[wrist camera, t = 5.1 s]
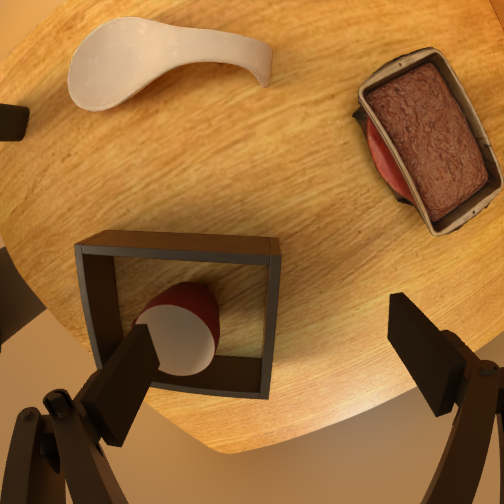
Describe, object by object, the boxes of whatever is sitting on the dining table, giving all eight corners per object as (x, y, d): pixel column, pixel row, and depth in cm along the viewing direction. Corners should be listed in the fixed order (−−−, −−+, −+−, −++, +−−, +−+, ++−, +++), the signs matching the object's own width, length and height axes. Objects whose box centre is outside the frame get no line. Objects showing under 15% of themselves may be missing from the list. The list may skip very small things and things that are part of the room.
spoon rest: (75, 118, 31) (40, 113, 24) (90, 36, 27) (60, 18, 20) (266, 117, 30) (266, 104, 23) (275, 24, 27) (277, -6, 20)
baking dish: (385, 224, 35) (433, 254, 25) (322, 86, 28) (363, 69, 19) (462, 175, 33) (514, 191, 24) (415, 50, 27) (467, 36, 18)
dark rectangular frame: (119, 348, 39) (98, 376, 32) (104, 229, 34) (73, 244, 28) (268, 364, 38) (268, 399, 32) (278, 237, 34) (281, 255, 27)
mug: (165, 339, 38) (140, 386, 28) (136, 286, 36) (99, 323, 26) (239, 316, 37) (230, 365, 27) (211, 257, 35) (191, 291, 25)
